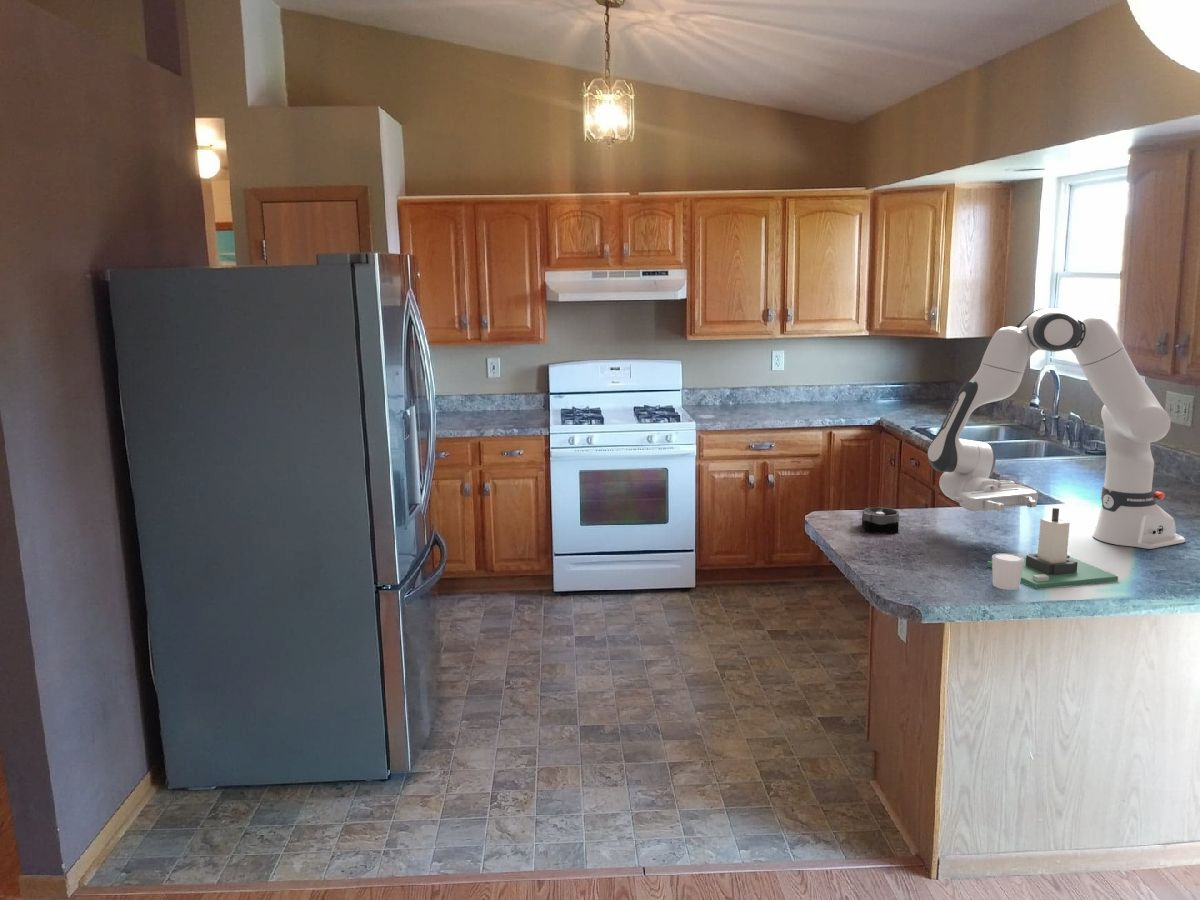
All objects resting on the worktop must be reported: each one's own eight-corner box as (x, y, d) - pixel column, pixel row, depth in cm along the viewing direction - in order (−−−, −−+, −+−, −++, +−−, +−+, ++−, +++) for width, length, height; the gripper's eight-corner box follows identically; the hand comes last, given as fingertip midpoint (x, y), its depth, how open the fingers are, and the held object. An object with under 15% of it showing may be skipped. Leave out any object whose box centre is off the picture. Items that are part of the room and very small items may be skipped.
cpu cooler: (896, 506, 258) (902, 515, 248) (895, 525, 259) (901, 535, 249) (859, 506, 260) (864, 515, 250) (859, 524, 261) (863, 534, 251)
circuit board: (1063, 558, 226) (1064, 544, 225) (1117, 581, 208) (1119, 566, 208) (987, 565, 221) (988, 551, 220) (1036, 589, 204) (1037, 574, 203)
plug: (1051, 564, 217) (1055, 505, 214) (1065, 570, 212) (1070, 510, 210) (1036, 566, 216) (1041, 506, 214) (1051, 572, 212) (1056, 511, 209)
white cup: (985, 586, 207) (987, 557, 205) (997, 578, 211) (998, 550, 210) (1015, 592, 202) (1017, 563, 200) (1026, 585, 206) (1029, 556, 205)
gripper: (950, 486, 237) (982, 497, 223) (1016, 479, 241) (1052, 490, 228) (949, 509, 238) (981, 521, 225) (1015, 502, 242) (1051, 514, 229)
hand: (1018, 506), depth 226 cm, fingers open, 8 cm apart
